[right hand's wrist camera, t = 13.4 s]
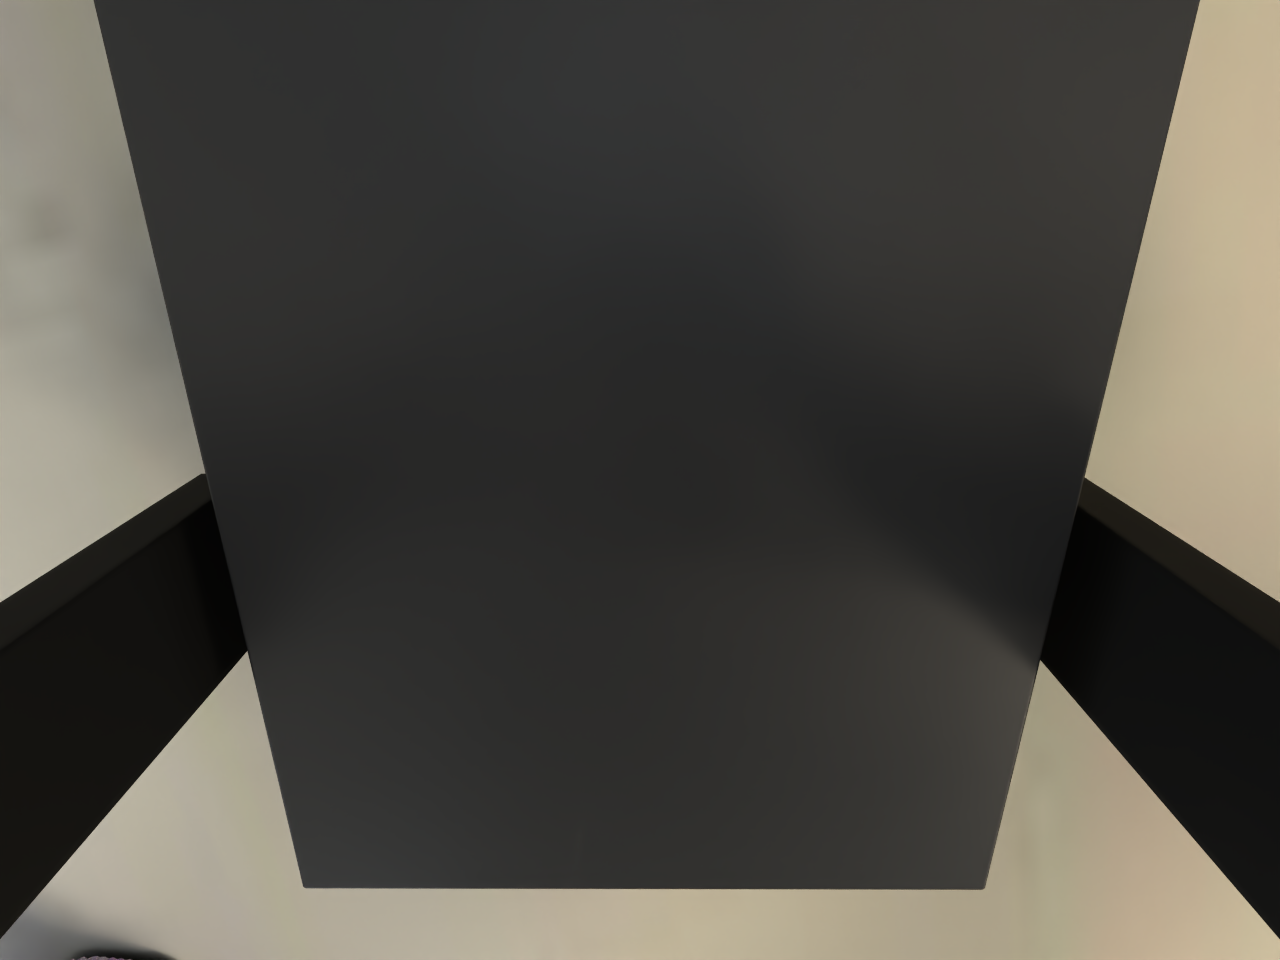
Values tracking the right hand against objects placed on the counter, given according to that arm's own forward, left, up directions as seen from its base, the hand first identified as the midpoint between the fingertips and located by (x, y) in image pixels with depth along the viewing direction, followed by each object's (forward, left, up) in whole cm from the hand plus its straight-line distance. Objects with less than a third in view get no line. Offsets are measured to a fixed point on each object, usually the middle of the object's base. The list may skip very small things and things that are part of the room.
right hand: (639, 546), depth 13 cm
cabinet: (+2, -3, -5) cm, 6 cm away
